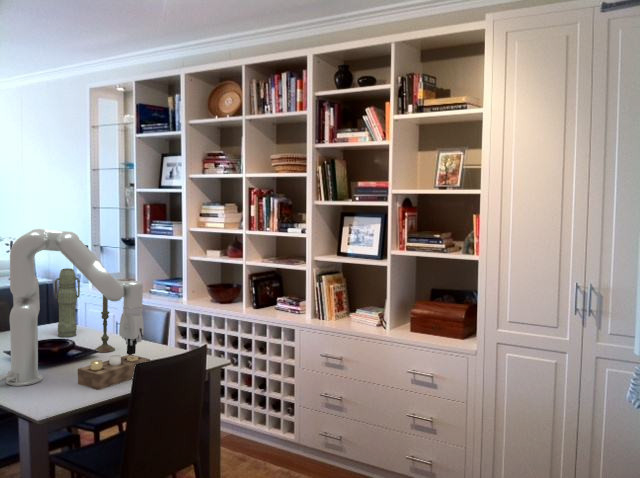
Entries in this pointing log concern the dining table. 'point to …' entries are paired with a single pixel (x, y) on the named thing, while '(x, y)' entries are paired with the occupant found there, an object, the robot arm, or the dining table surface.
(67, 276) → the thermos
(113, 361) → the middle white knob
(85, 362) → the dining table surface
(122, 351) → the dining table surface
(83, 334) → the dining table surface
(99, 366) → the near brass knob
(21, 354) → the robot arm
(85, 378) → the wooden block
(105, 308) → the candlestick holder
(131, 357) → the far brass knob
